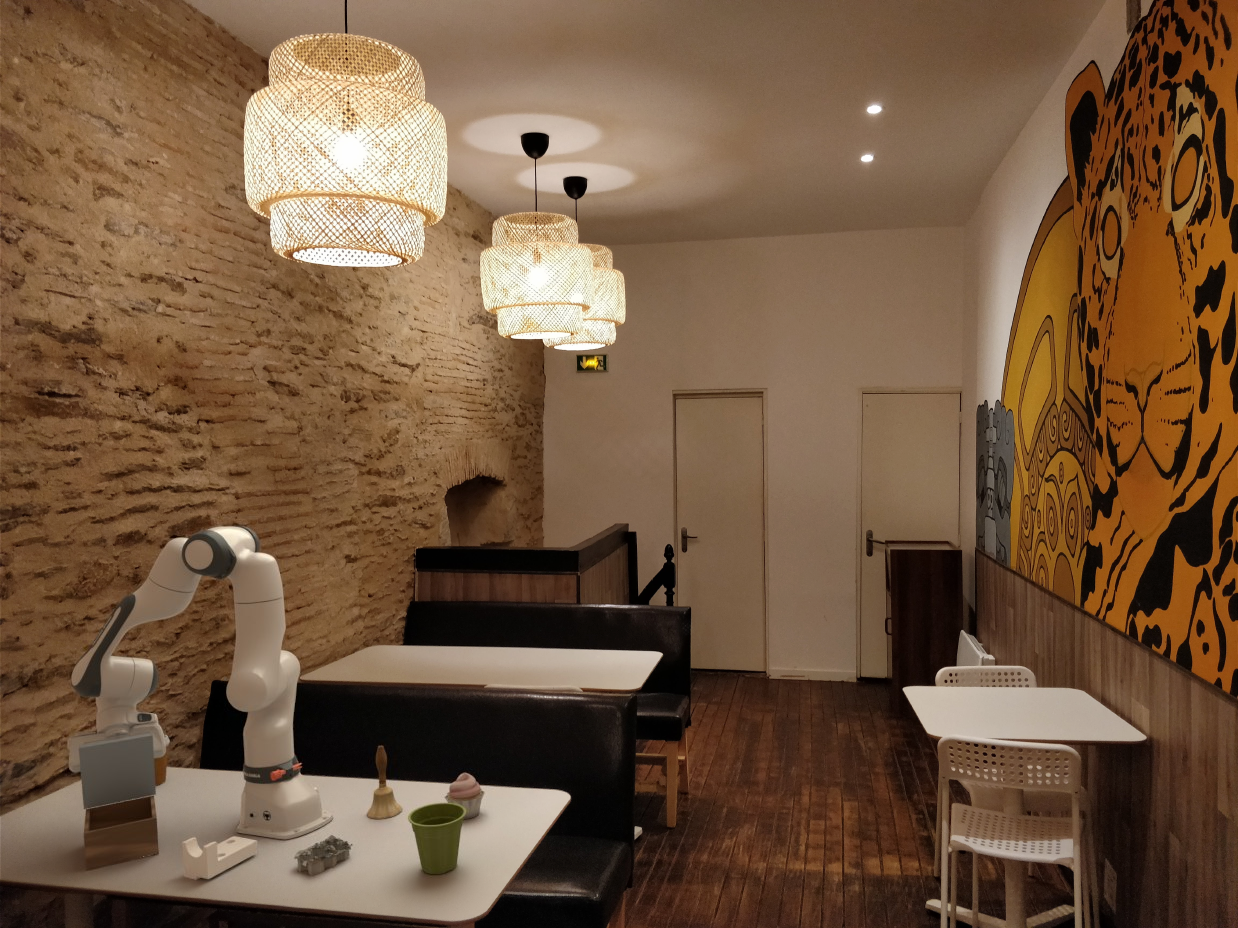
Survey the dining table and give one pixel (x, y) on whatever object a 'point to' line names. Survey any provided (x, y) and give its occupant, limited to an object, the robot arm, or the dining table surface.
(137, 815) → the box
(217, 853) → the bracket
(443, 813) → the plant pot
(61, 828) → the dining table surface
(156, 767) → the disposable coffee cup
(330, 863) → the egg carton
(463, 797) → the cupcake
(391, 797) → the hand bell
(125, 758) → the lid
